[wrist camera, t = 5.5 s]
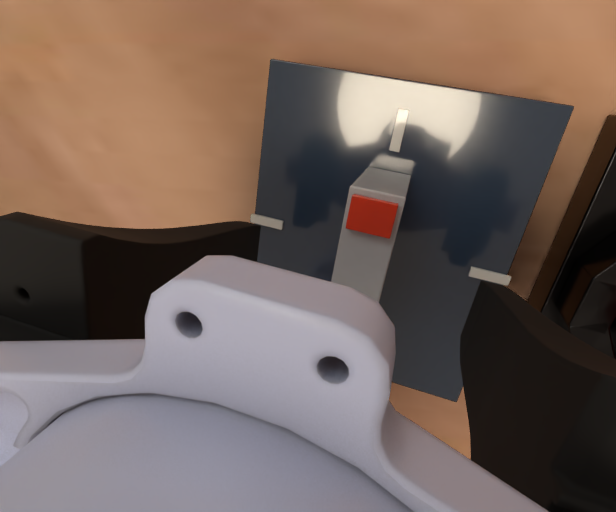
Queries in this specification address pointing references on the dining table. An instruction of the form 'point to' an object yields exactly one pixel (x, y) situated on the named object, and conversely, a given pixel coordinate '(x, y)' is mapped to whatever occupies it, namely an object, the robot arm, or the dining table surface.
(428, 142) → the base
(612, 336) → the button box
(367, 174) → the tap lever
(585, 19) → the dining table surface
